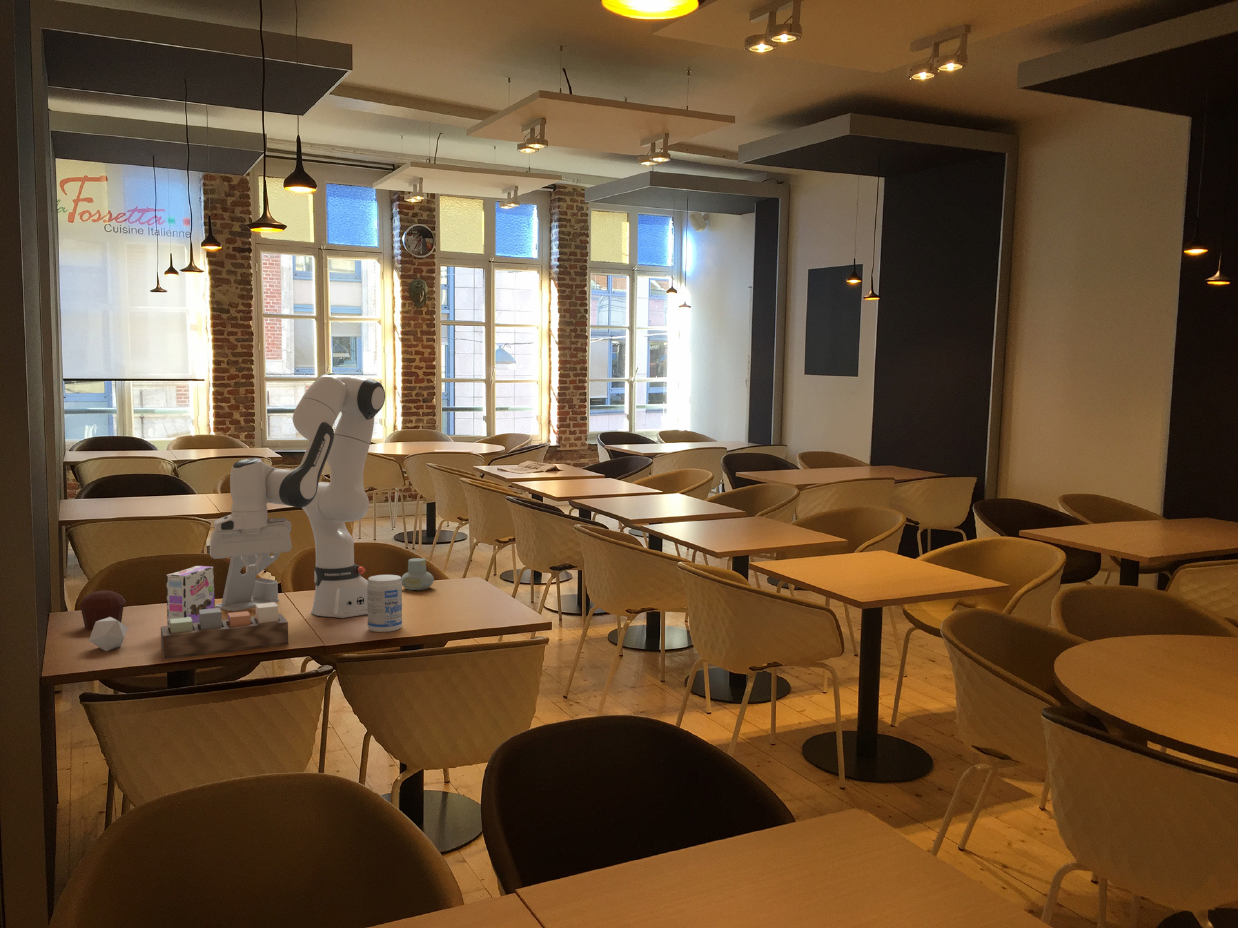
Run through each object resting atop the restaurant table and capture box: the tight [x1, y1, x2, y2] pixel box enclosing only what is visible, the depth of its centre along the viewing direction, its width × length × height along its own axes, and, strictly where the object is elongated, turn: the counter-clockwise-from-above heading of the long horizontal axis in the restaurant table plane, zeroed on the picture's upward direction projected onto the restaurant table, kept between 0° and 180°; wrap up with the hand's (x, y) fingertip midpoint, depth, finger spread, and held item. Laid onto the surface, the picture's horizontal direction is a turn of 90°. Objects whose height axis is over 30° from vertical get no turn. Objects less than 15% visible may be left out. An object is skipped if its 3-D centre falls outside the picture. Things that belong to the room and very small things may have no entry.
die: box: [88, 617, 128, 652], centre depth 250 cm, size 8×9×10 cm
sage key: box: [170, 617, 193, 633], centre depth 247 cm, size 5×5×5 cm
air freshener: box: [400, 557, 435, 591], centre depth 322 cm, size 11×8×10 cm
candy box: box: [165, 565, 216, 626], centre depth 271 cm, size 14×6×16 cm, turn 168°
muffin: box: [78, 589, 127, 631], centre depth 271 cm, size 12×11×10 cm
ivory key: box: [255, 602, 279, 624], centre depth 257 cm, size 5×5×5 cm
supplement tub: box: [367, 574, 403, 633], centre depth 271 cm, size 10×10×15 cm
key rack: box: [160, 613, 289, 660], centre depth 252 cm, size 30×10×6 cm, turn 119°
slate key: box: [199, 607, 223, 630], centre depth 250 cm, size 5×5×5 cm
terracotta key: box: [227, 610, 251, 627], centre depth 254 cm, size 5×5×5 cm
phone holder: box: [215, 553, 281, 612], centre depth 298 cm, size 17×10×18 cm, turn 146°
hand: (252, 571), depth 255 cm, fingers closed
